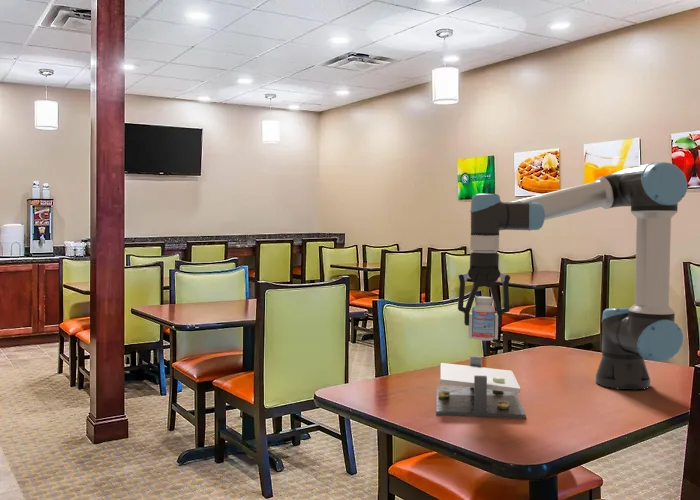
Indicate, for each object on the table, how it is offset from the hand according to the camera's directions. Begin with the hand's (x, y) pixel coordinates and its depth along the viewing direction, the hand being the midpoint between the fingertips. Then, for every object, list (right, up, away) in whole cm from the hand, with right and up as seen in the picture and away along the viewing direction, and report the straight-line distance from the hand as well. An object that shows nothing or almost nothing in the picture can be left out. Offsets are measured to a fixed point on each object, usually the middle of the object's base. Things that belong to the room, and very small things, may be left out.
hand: (482, 337), depth 172 cm
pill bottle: (0, -1, 0) cm, 1 cm away
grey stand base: (-1, -18, +1) cm, 18 cm away
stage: (-1, -11, +1) cm, 11 cm away
